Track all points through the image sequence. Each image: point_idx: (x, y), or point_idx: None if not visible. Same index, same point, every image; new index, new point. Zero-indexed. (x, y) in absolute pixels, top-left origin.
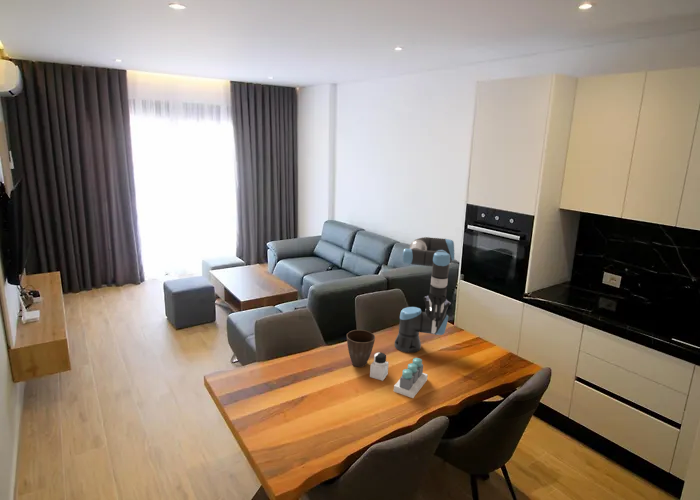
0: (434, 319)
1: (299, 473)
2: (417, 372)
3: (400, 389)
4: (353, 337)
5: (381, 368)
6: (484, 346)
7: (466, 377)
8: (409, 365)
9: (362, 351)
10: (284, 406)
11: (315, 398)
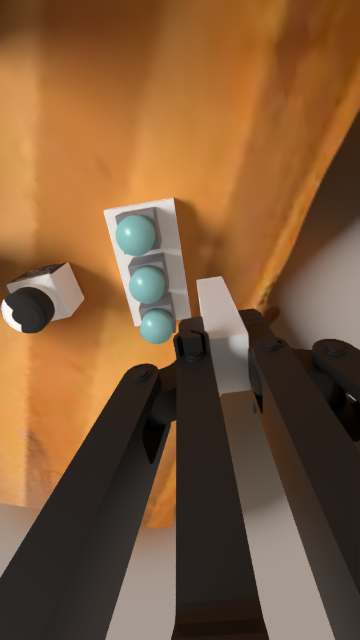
0: (221, 363)
1: (164, 511)
2: (164, 270)
3: None
4: None
5: (65, 317)
6: None
7: (287, 49)
8: (137, 294)
9: None
10: (37, 464)
11: (48, 428)
